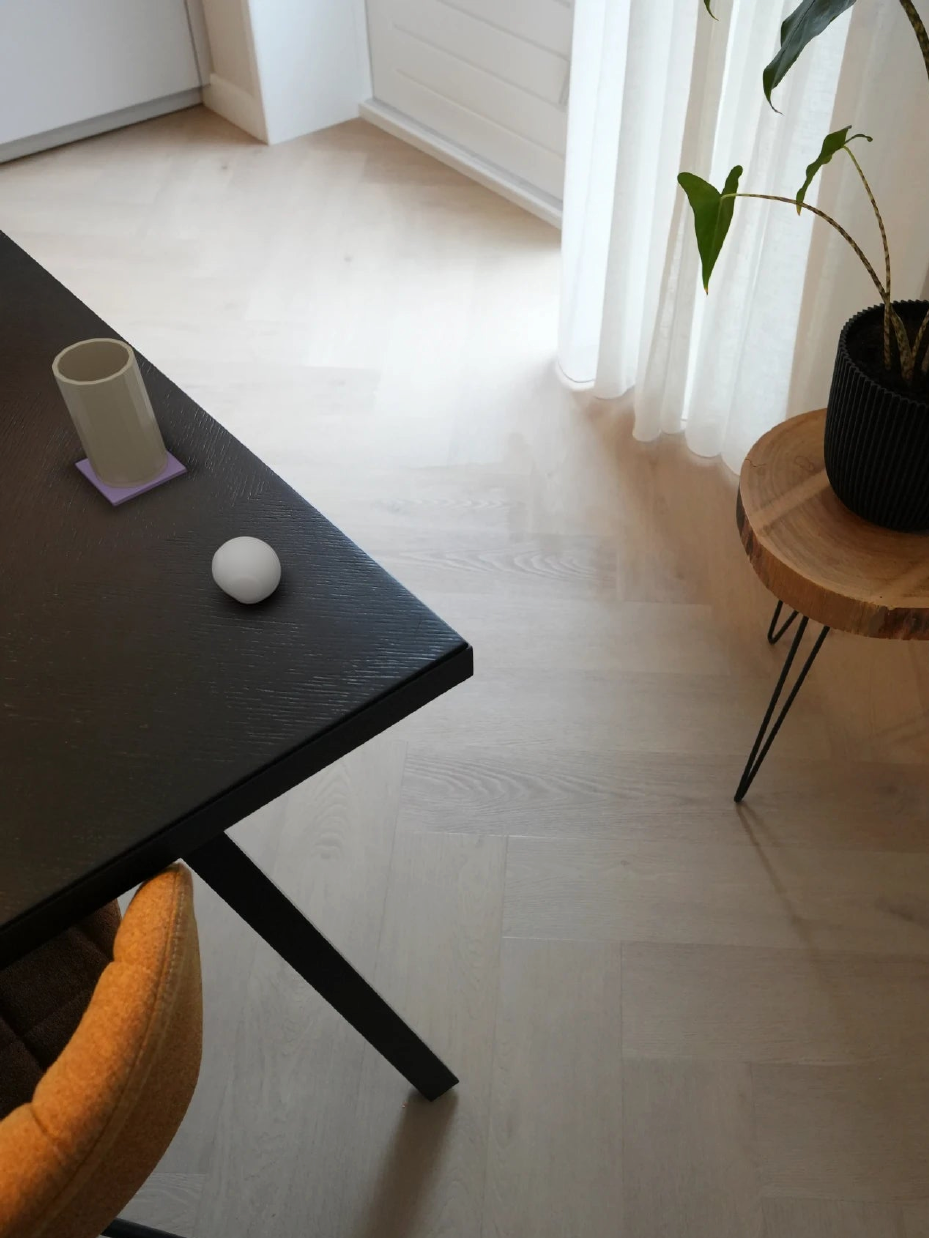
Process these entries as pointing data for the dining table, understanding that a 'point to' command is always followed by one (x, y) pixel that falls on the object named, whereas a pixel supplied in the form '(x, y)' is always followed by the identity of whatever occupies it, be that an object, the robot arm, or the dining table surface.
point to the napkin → (124, 494)
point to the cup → (111, 411)
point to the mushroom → (246, 569)
